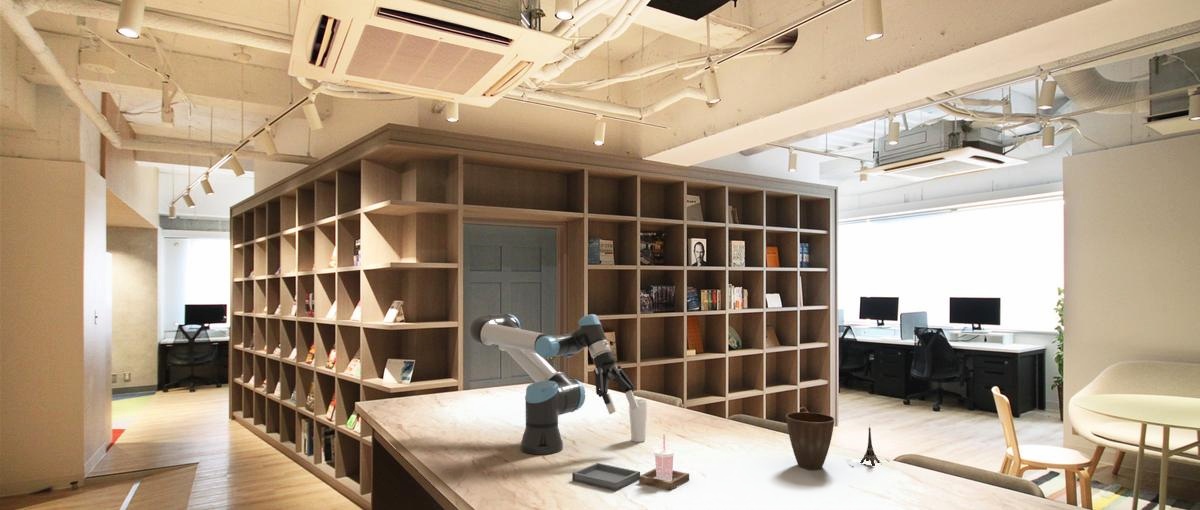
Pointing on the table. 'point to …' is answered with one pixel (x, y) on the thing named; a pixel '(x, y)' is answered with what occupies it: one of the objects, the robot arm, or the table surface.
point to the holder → (650, 480)
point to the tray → (606, 476)
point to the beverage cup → (664, 463)
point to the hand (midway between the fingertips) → (624, 410)
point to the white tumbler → (638, 421)
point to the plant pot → (810, 438)
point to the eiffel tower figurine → (870, 451)
